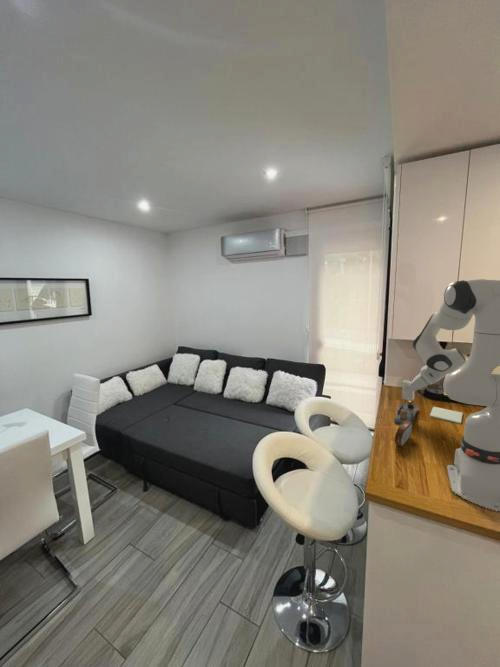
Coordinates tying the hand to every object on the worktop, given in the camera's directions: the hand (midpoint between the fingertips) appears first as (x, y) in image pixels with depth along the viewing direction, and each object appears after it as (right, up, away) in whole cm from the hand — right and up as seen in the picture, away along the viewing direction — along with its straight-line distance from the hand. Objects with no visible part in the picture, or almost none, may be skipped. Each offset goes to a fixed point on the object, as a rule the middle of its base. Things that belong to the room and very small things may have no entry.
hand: (407, 388), depth 140 cm
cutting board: (+22, -15, +2) cm, 26 cm away
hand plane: (+1, -15, +2) cm, 16 cm away
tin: (-13, -20, -20) cm, 31 cm away
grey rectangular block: (+1, -5, 0) cm, 5 cm away
